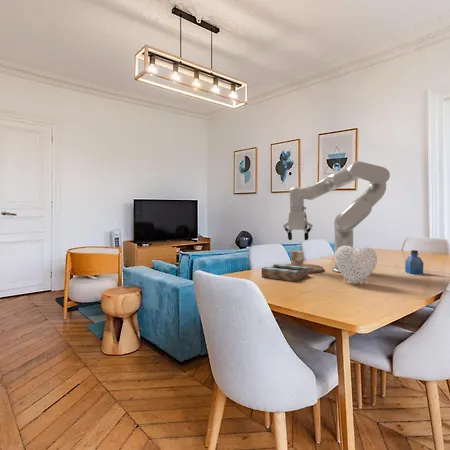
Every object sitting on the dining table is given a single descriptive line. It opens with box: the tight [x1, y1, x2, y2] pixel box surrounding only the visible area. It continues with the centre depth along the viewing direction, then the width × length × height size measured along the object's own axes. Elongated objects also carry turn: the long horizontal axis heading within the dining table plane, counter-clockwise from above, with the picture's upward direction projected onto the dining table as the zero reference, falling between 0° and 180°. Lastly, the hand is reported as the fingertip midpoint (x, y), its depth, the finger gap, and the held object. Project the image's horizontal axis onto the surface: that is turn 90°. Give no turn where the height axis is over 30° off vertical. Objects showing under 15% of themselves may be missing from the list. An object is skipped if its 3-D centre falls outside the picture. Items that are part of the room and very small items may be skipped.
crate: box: [261, 263, 309, 282], centre depth 168 cm, size 18×16×5 cm
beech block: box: [290, 250, 304, 266], centre depth 187 cm, size 5×5×9 cm
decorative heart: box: [334, 246, 378, 286], centre depth 151 cm, size 18×11×17 cm, turn 57°
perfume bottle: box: [404, 249, 424, 275], centre depth 173 cm, size 6×6×12 cm
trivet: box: [284, 263, 325, 275], centre depth 187 cm, size 25×25×2 cm
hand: (298, 239), depth 187 cm, fingers open, 9 cm apart
